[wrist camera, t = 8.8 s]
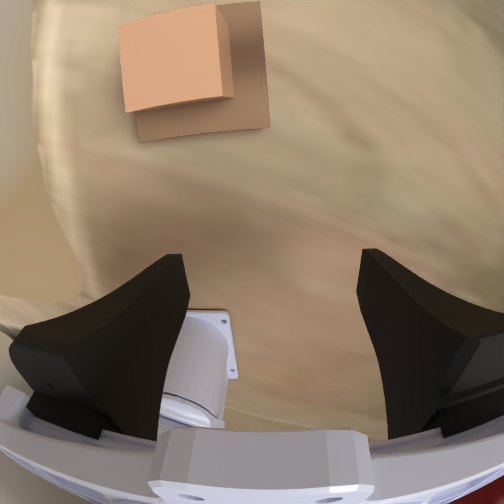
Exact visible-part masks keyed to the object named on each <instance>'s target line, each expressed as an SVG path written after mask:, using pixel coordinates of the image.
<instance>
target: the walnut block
mask: <svg viewBox="0 0 504 504" xmlns="http://www.w3.org/2000/svg"><path fill="white" fill-rule="evenodd" d="M217 8H218V9H219V11H220V13H221V14H222V16H223V18H224V20H225V22H226V23H227V25H228V29H229V41H230V52H231V64H232V75H233V87H234V98H225V99H216V100H208V101H201V102H194V103H187V104H181V105H175V106H169V107H164V108H158V109H150V110H142V111H135V116H136V124H137V131H138V138H139V143H141V142H146V141H152V140H158V139H164V138H171V137H178V136H185V135H193V134H201V133H210V132H219V131H230V130H243V129H258V128H270V118H269V104H268V90H267V77H266V64H265V52H264V40H263V29H262V18H261V9H260V1H257V2H244V3H234V4H225V5H218V6H217Z"/></svg>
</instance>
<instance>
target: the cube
mask: <svg viewBox="0 0 504 504" xmlns="http://www.w3.org/2000/svg"><path fill="white" fill-rule="evenodd" d="M118 27H119V48H120V63H121V75H122V85H123V95H124V103H125V111H126V113H129V112H135V111H142V110H150V109H158V108H164V107H169V106H175V105H181V104H187V103H194V102H201V101H208V100H216V99H225V98H234V87H233V75H232V64H231V52H230V41H229V29H228V25H227V23H226V22H225V20H224V18H223V16H222V14H221V13H220V11H219V9H218V8H217V6H216V4H215V3H211V4H205V5H199V6H193V7H188V8H183V9H179V10H174V11H170V12H166V13H161V14H158V15H154V16H150V17H147V18H143V19H140V20H136V21H133V22H130V23H127V24H124V25H121V26H118Z"/></svg>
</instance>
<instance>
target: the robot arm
mask: <svg viewBox="0 0 504 504" xmlns="http://www.w3.org/2000/svg"><path fill="white" fill-rule="evenodd" d="M356 292H357V297H358V302H359V306H360V310H361V313H362V316H363V319H364V322H365V324H366V327H367V330H368V333H369V335H370V338H371V341H372V344H373V347H374V349H375V352H376V356H377V359H378V363H379V367H380V372H381V378H382V383H383V390H384V396H385V404H386V413H387V424H388V440H385V441H380V442H374V443H368V439H367V435H365V434H363V433H360V432H358V431H355V430H352V429H350V428H330V427H322V428H308V429H283V430H250V429H226V428H224V426H225V422H224V421H222V420H223V414H224V407H225V400H226V393H227V386H228V379H229V378H231V379H235V378H237V377H238V368H237V362H236V356H235V350H234V343H233V336H232V330H231V323H230V316H229V313H228V312H227V311H223V310H187V309H188V304H189V299H190V292H189V287H188V282H187V278H186V273H185V268H184V263H183V258H182V254H167V255H165V256H164V257H162V258H160V259H159V260H157V261H156V262H155V263H153V264H152V265H150V266H149V267H148V268H146V269H145V270H144V271H142V272H141V273H139V274H138V275H137V276H135V277H134V278H132V279H131V280H129V281H128V282H126V283H125V284H123V285H122V286H120V287H119V288H118V289H116V290H114V291H113V292H111V293H109V294H108V295H106V296H104V297H102V298H100V299H99V300H97V301H95V302H93V303H91V304H88V305H86V306H84V307H82V308H80V309H78V310H75V311H73V312H70V313H68V314H65V315H62V316H59V317H57V318H54V319H50V320H47V321H43V322H39V323H35V324H32V325H27V326H25V327H24V328H23V329H22V330H21V332H20V333H19V334H18V335H17V337H16V338H15V339H14V341H13V342H12V344H11V345H10V347H9V354H10V358H11V360H12V362H13V364H14V366H15V367H16V369H17V370H18V371H19V373H20V374H21V375H22V377H23V378H24V379H25V381H26V382H27V383H28V384H29V386H30V387H31V388H32V389H33V390H34V393H33V395H32V397H30V396H28V395H27V394H25V393H24V392H22V391H19V390H17V389H15V388H12V387H11V386H6V388H5V389H4V391H3V393H2V395H1V396H0V450H1V451H3V452H4V453H5V454H7V455H8V456H9V457H10V458H12V459H13V460H14V461H16V462H17V463H18V464H20V465H21V466H23V467H24V468H26V469H28V470H29V471H31V472H33V473H34V474H36V475H38V476H40V477H42V478H43V479H45V480H47V481H49V482H51V483H53V484H55V485H57V486H59V487H60V488H62V489H64V490H66V491H69V492H71V493H73V494H75V495H77V496H79V497H81V498H84V499H86V500H88V501H91V502H93V503H96V504H446V503H448V502H451V501H453V500H455V499H458V498H460V497H462V496H464V495H466V494H468V493H470V492H472V491H474V490H476V489H478V488H480V487H482V486H484V485H486V484H488V483H490V482H492V481H493V480H495V479H497V478H499V477H501V476H502V475H504V313H501V312H496V311H493V310H490V309H486V308H483V307H480V306H477V305H475V304H472V303H469V302H467V301H465V300H462V299H460V298H457V297H455V296H453V295H451V294H449V293H447V292H445V291H443V290H441V289H439V288H437V287H436V286H434V285H432V284H430V283H429V282H427V281H425V280H424V279H422V278H421V277H419V276H417V275H416V274H414V273H413V272H411V271H410V270H408V269H407V268H406V267H404V266H403V265H401V264H400V263H398V262H397V261H395V260H394V259H393V258H391V257H390V256H388V255H387V254H385V253H384V252H382V251H380V250H378V249H362V256H361V263H360V270H359V277H358V283H357V290H356ZM223 319H224V320H226V321H223Z"/></svg>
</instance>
